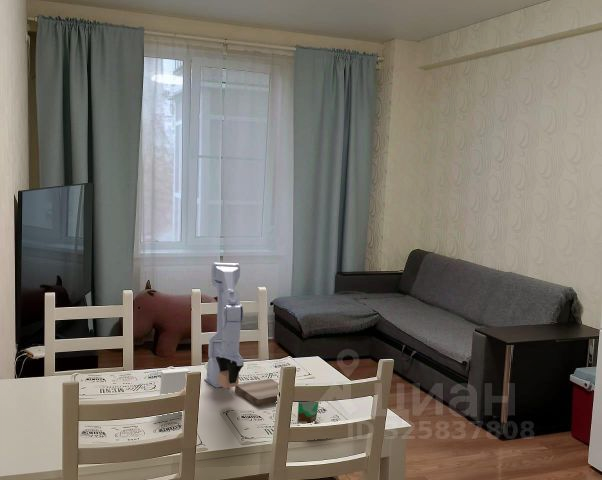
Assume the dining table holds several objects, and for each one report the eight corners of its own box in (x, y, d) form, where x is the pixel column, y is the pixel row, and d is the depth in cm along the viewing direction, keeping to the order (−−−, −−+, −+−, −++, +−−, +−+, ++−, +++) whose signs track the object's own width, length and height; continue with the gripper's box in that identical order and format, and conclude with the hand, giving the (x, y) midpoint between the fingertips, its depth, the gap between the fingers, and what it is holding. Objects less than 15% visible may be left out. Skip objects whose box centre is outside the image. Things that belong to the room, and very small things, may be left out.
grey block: (163, 413, 192) (165, 376, 191) (156, 402, 200) (158, 367, 199) (191, 409, 196) (193, 374, 195) (183, 399, 204) (185, 365, 203)
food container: (315, 430, 188) (318, 399, 187) (296, 427, 189) (298, 396, 188) (322, 415, 200) (324, 386, 199) (303, 412, 201) (306, 383, 200)
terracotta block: (217, 383, 204) (218, 371, 204) (230, 381, 207) (231, 369, 207) (225, 388, 200) (225, 376, 200) (238, 386, 203) (238, 374, 203)
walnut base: (234, 391, 215) (235, 384, 215) (270, 385, 224) (270, 378, 224) (257, 406, 203) (258, 399, 203) (294, 399, 212) (294, 392, 212)
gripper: (209, 336, 205) (207, 374, 207) (231, 348, 194) (228, 389, 196) (228, 334, 210) (225, 372, 211) (250, 345, 198) (247, 385, 200)
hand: (228, 380), depth 204 cm, fingers closed on terracotta block, 5 cm apart
